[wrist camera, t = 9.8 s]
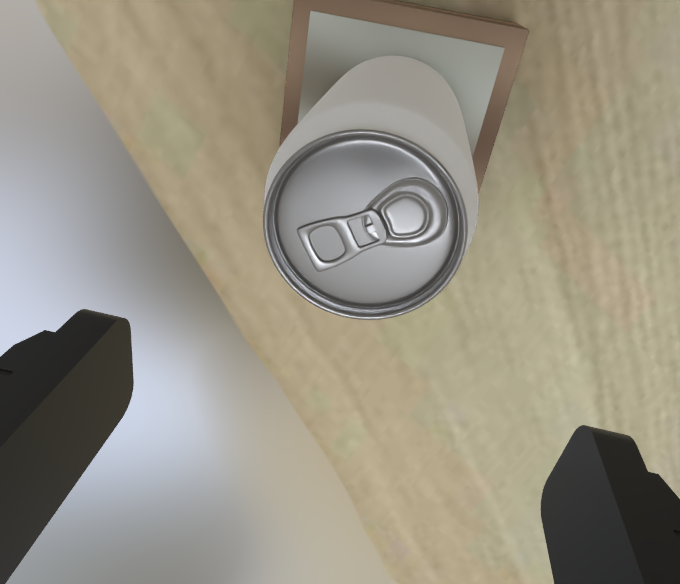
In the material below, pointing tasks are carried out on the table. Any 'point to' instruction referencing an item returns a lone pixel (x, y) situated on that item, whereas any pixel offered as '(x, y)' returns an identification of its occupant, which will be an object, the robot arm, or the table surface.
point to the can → (374, 192)
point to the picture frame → (410, 41)
